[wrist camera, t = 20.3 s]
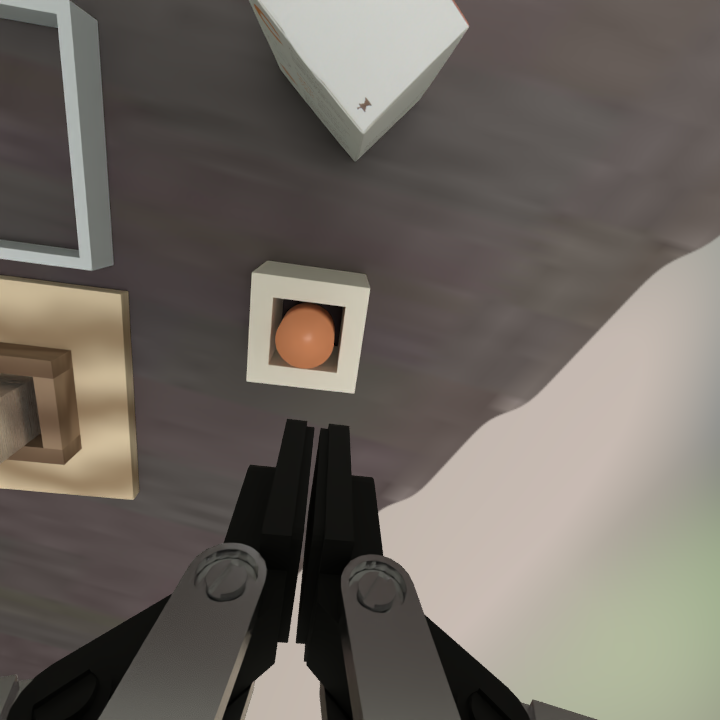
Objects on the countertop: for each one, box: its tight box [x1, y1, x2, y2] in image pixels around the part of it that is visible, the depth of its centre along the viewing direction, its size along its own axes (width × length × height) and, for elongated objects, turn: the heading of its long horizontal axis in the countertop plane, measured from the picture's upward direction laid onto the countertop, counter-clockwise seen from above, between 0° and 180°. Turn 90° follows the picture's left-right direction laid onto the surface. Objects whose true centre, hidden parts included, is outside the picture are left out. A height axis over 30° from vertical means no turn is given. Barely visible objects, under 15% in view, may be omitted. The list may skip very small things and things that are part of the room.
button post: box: [246, 261, 370, 393], centre depth 32 cm, size 8×8×6 cm
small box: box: [249, 0, 469, 161], centre depth 23 cm, size 8×6×13 cm
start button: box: [275, 303, 335, 369], centre depth 30 cm, size 4×4×3 cm
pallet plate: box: [0, 275, 139, 500], centre depth 35 cm, size 20×18×4 cm
